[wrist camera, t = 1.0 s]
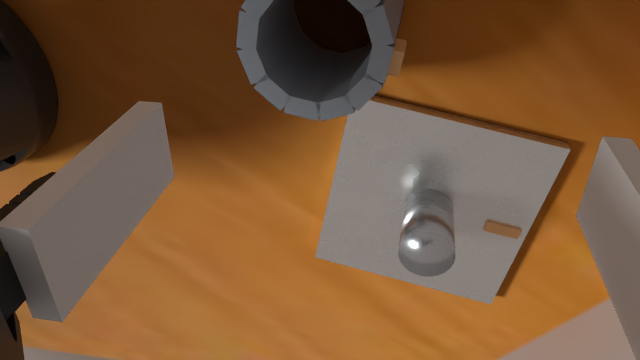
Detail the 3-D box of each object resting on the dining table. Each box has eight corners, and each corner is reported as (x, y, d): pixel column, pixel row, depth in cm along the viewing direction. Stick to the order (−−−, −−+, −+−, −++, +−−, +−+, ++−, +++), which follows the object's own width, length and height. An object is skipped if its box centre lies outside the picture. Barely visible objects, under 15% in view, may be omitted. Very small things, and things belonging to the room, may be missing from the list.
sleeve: (272, 51, 34) (231, 99, 27) (288, -74, 30) (244, -54, 23) (393, 80, 33) (381, 137, 26) (426, -43, 29) (423, -13, 22)
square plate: (317, 249, 42) (301, 302, 37) (354, 90, 34) (339, 130, 29) (489, 295, 41) (496, 356, 36) (567, 142, 33) (590, 193, 28)
